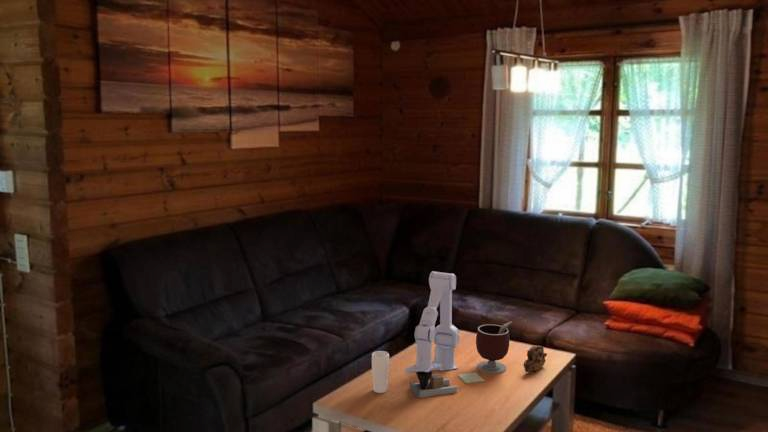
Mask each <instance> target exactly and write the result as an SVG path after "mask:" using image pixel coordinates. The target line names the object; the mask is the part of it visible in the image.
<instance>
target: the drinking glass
mask: <svg viewBox="0 0 768 432" xmlns="http://www.w3.org/2000/svg"><path fill="white" fill-rule="evenodd" d="M389 369H390V354H389V352H388V351H384V350H377V351H373V352H372V353H371V374H372V388H373V391H374V392H375V393H377V394H383V393H386V392H387V390H388V380H389Z"/></svg>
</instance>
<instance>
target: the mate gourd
mask: <svg viewBox="0 0 768 432" xmlns="http://www.w3.org/2000/svg"><path fill="white" fill-rule="evenodd" d="M511 324H513V321H508V322H507V323H504V324H503V325H501V324H500V325H499V324H493V323H492V324H482V325H479V326H478V327H477V331H476V336H475V345H476V347H475V348H476V351H477V352H478V355H479V356H480V357H481V358H482V359H485V360H483V361H479V362H478V363H477V365H476V369H477V370H478V371H480V372H482V373H485V374H490V375H498V374H503V373H505V372H506V371H507V366H506V365H505V364H504V363H502V362H499V361H501V360H503V359H504V358H505V357H506V356H507V355H508V352H509V348H510V332H509V329H508V327H509V326H510V325H511Z"/></svg>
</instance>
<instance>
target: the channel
mask: <svg viewBox="0 0 768 432" xmlns="http://www.w3.org/2000/svg"><path fill="white" fill-rule="evenodd" d="M450 381H451V380H450V378H443V387H442V388H435V389H429V384H430V380H429V381H428V383H427V386H426V390H422V389H421V387H420V382H414V381H413V380H411V381H409V390H410V391H411V392H412V393H413V395H414V396H415V397H416V399H417V398H418V399H419V398H427V397H432V396H434V397H435V396H440V395H445V394H454V393H457V392H458V386H457V385H451V386H450Z"/></svg>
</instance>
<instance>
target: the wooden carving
mask: <svg viewBox="0 0 768 432" xmlns="http://www.w3.org/2000/svg"><path fill="white" fill-rule="evenodd" d="M547 355H548V353H546V352H545V350H544V346H543V345H542V346H541V345H533V346H531V347H529V350H527V351H526V356H527V359H525V361H524V362H523V364H522V365H523V368H524V372H525V373H526V372H527V373H532V372H533V371H538V370H541V369H542V368H543V367H544V365H545V363H546V361H547V360H546V357H547Z"/></svg>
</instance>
